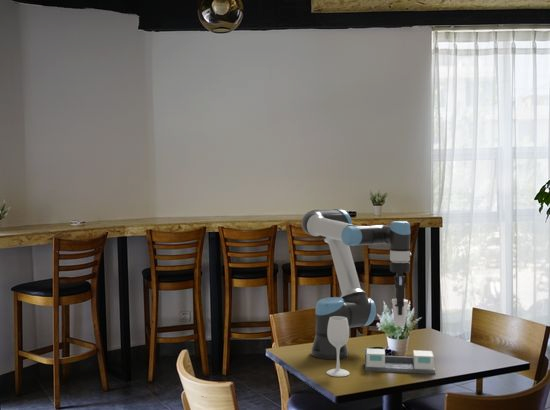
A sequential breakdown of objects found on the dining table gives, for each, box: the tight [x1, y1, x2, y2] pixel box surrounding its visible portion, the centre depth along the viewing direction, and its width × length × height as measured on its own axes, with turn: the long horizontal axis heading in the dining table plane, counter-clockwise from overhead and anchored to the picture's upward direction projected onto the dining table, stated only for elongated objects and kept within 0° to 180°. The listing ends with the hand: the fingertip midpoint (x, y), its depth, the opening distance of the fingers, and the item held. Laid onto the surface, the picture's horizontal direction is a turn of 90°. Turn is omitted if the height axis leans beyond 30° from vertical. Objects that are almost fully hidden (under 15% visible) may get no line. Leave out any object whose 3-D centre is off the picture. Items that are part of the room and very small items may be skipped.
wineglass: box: [326, 316, 350, 378], centre depth 238 cm, size 9×9×21 cm
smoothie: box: [391, 298, 409, 327], centre depth 244 cm, size 6×6×14 cm
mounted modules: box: [365, 347, 435, 370], centre depth 244 cm, size 25×8×5 cm, turn 81°
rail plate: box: [364, 354, 436, 375], centre depth 245 cm, size 26×10×4 cm, turn 81°
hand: (399, 321), depth 244 cm, fingers closed on smoothie, 6 cm apart
